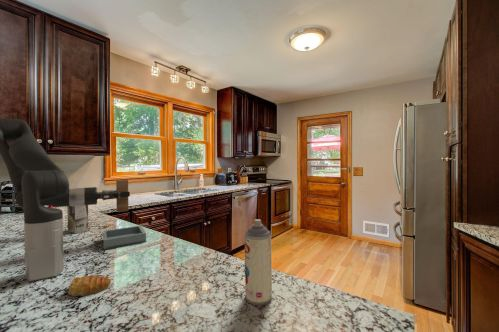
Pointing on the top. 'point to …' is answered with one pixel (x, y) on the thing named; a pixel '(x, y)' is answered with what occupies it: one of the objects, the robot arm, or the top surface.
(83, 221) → the coffee box
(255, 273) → the aerosol can
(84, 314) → the top surface
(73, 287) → the pastry
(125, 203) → the walnut block
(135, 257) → the top surface
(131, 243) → the slate tray
